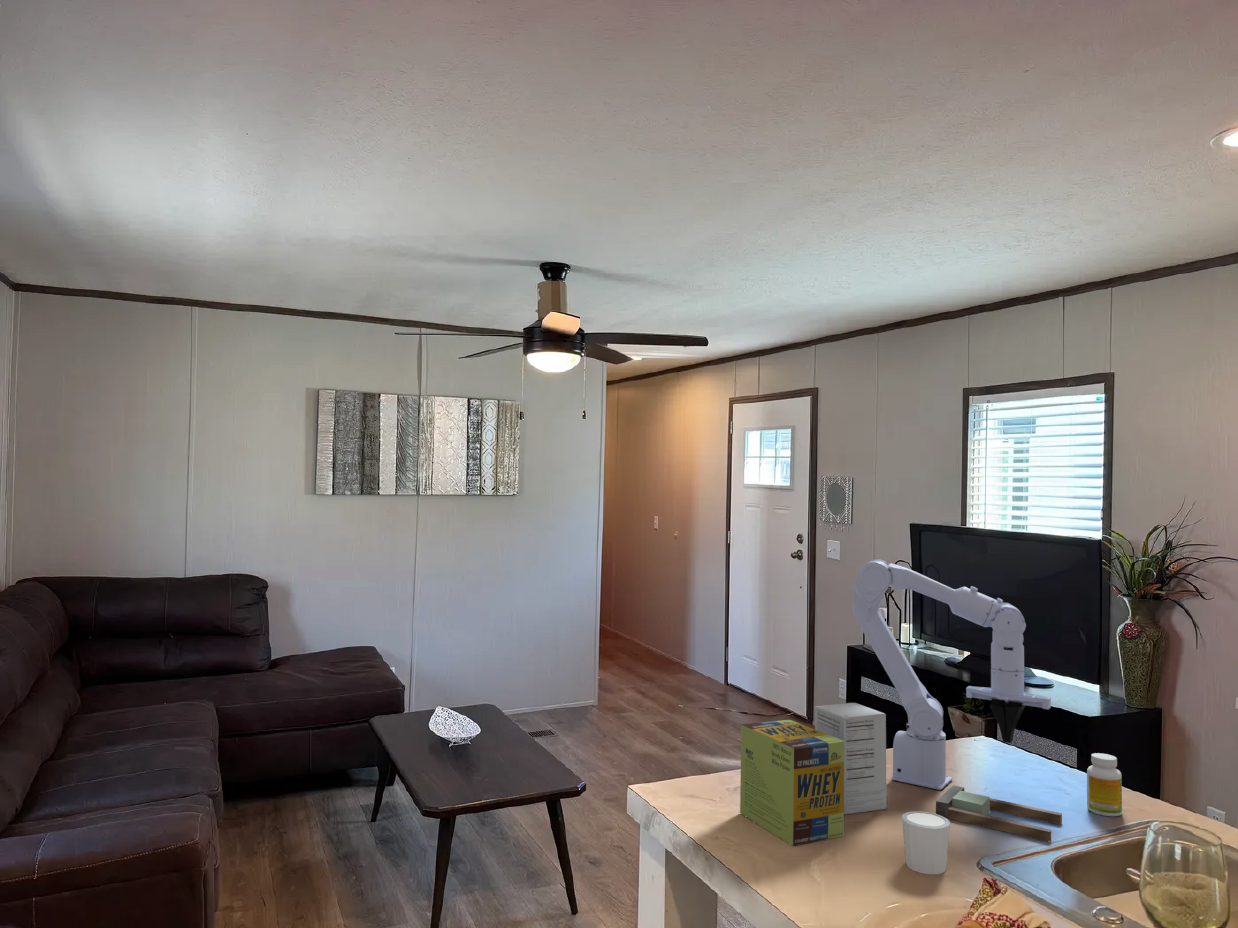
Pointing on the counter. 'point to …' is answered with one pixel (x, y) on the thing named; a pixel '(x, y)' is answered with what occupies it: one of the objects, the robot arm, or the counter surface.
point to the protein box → (792, 781)
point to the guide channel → (996, 823)
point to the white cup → (925, 841)
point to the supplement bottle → (1104, 786)
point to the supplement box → (858, 752)
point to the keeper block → (971, 802)
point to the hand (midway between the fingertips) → (1007, 741)
